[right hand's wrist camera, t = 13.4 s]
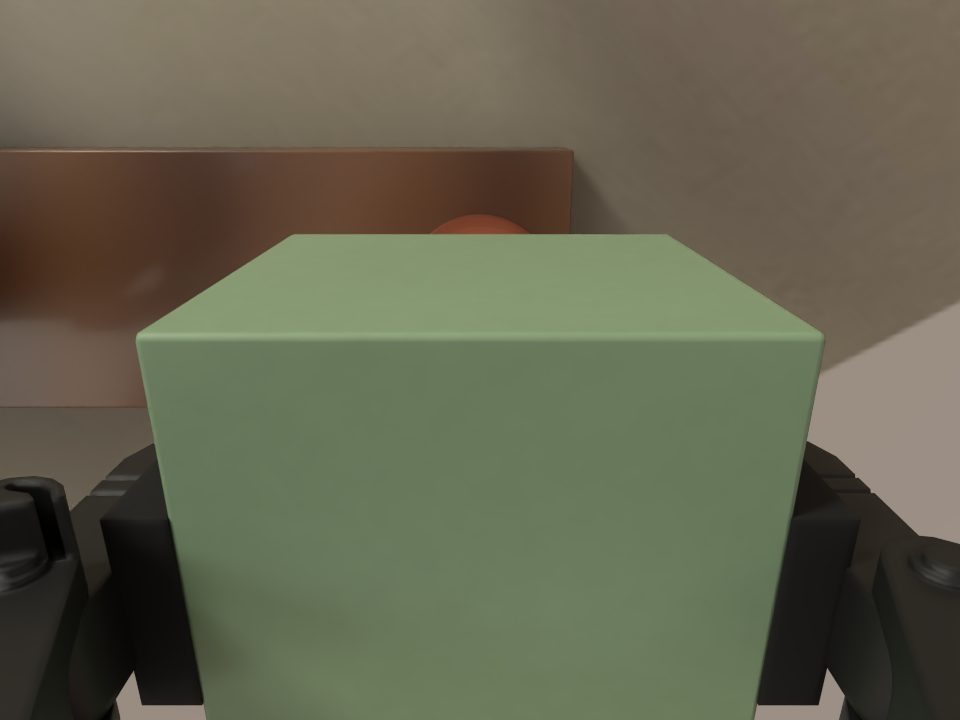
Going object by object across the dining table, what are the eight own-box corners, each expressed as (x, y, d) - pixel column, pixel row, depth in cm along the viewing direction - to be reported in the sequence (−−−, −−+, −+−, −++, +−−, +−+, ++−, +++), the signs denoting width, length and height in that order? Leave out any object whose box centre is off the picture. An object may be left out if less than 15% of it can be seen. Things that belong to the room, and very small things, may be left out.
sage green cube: (321, 552, 15) (222, 824, 9) (289, 233, 12) (129, 332, 7) (638, 552, 15) (737, 823, 9) (669, 233, 12) (831, 332, 7)
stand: (-104, 387, 26) (-881, 749, 11) (-182, 147, 23) (-1397, 206, 8) (555, 386, 26) (658, 747, 11) (566, 147, 23) (726, 206, 8)
